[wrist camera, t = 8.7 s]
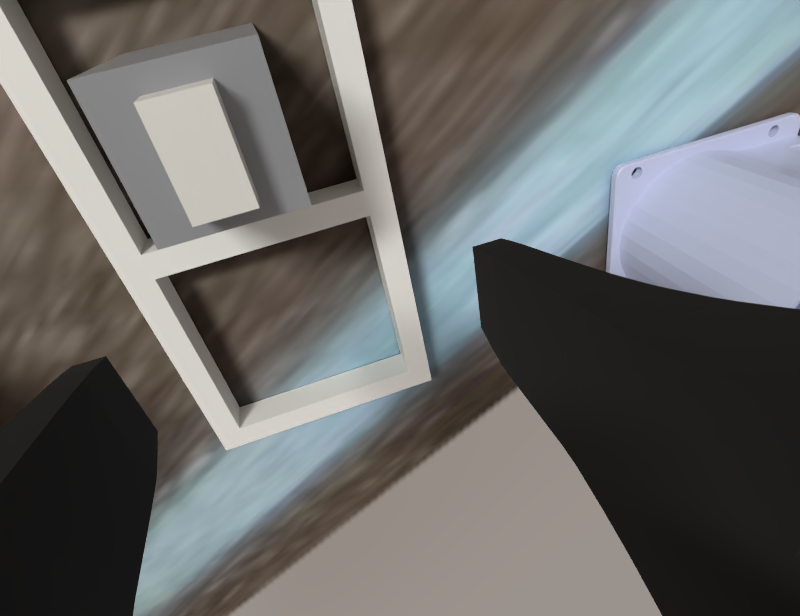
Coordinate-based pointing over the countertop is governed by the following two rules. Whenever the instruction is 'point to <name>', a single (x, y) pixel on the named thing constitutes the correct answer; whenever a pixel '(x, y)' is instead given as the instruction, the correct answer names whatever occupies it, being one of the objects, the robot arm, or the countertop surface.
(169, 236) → the plug
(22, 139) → the countertop surface
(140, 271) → the frame
